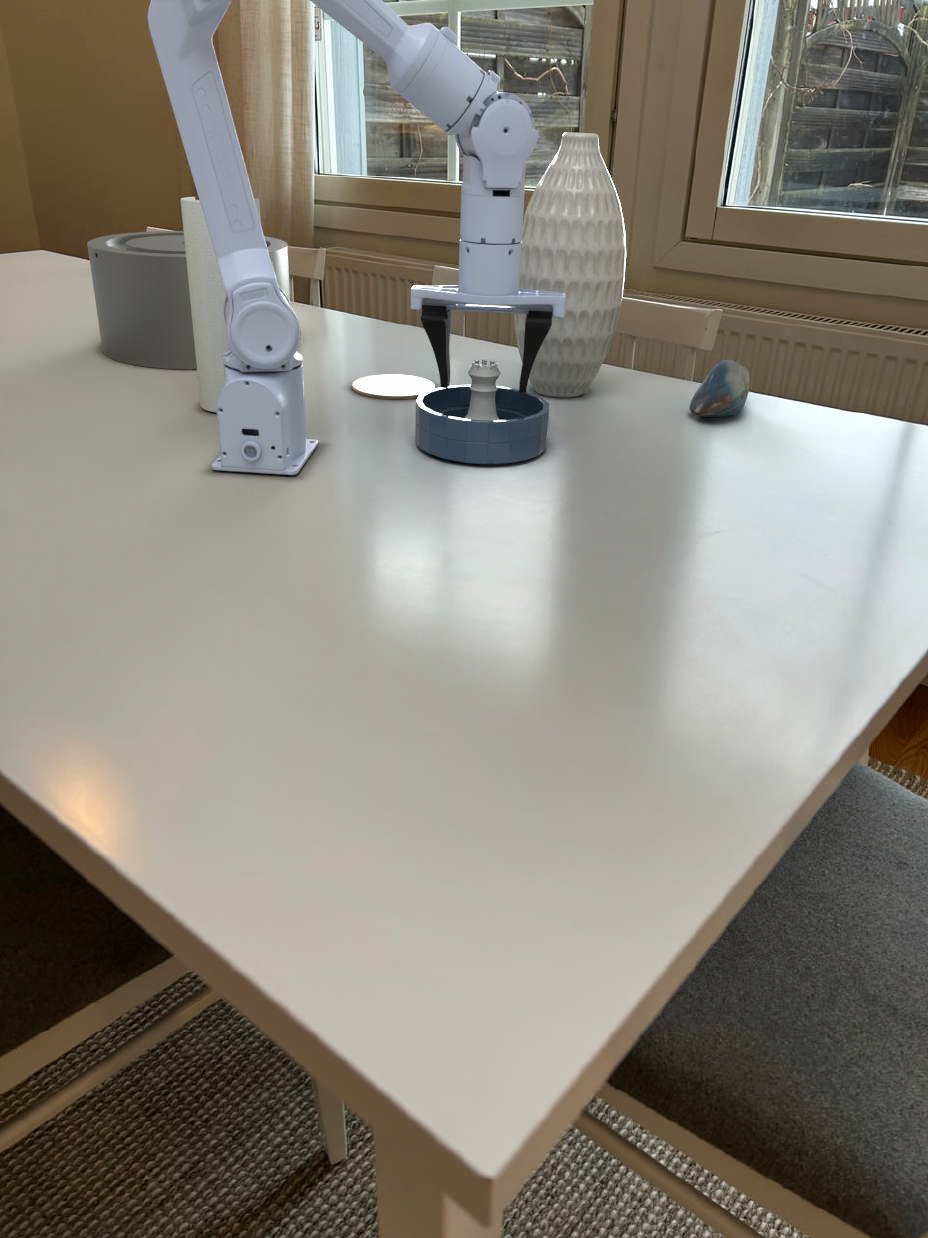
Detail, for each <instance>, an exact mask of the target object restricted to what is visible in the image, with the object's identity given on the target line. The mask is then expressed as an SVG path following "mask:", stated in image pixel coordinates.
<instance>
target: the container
mask: <svg viewBox="0 0 928 1238" xmlns="http://www.w3.org/2000/svg"><path fill="white" fill-rule="evenodd" d="M264 238H265V242H266V246H267V249H268V253H269V256H270V259H271V263H272V266H273V269H274V273H275V276H276V280H277V283H278V286H279V287H280V288H281V289H282V290H283V291H284V293H285V294H286V296H287V297H288V299H289V302H290V303H291V290H290V289H291V287H290V273H289V272H290V270H289V247H288V242H286V241H284V240H282V239H280V238H275V237H271V236H267V235H264ZM86 245H87V252H88V259H89V263H90V264H89V266H90V272H91V279H92V286H93V294H94V300H95V309H96V313H97V314H96V316H97V322H98V328H99V329H98V330H99V336H100V343H101V349H102V353H103V355H105V356H106V357H107V358H109V359H111V360H114V361H117V362H119V363H123V364H128V365H133V366H138V367H145V368H154V369H164V370H165V369H166V370H197V363H196V353H195V343H194V333H193V322H192V312H191V302H190V292H189V282H188V271H187V261H186V251H185V241H184V230H162V231H161V230H159V231H157V230H155V231H137V232H125V233H117V234H116V233H115V234H109V235H104V236H99V237H94V238H91V239H89V240H88V241H87V244H86Z"/></svg>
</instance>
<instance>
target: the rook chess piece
mask: <svg viewBox="0 0 928 1238" xmlns="http://www.w3.org/2000/svg"><path fill="white" fill-rule="evenodd" d="M467 374H468V375H469V377H470V379H471V384H470V385H471V386H470V390H471V401H470V406H469V411H468V414H467V416H465V419H472V420H488V421H490V420H499V418H498V417H497V413H496V404H495V392H496V391H497V389H498V388H497V386H498V385H496V383H497V380H498V379H499V377H500V376H501V374H502V373H501V371H500V369H499V368H498V362H496V360H490V361H489V364H488V359H481V363H480V360H479V359H474V360H473V361H471V367H470V368H469V369H468V370H467Z"/></svg>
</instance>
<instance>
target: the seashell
mask: <svg viewBox="0 0 928 1238" xmlns="http://www.w3.org/2000/svg"><path fill="white" fill-rule="evenodd" d="M750 386H751V377H750V372H749V370H748V369H747V368H746V367H745V366H743V365H741V364H740V363H738V362H737V361H734V360H731V359H723V360H721V361H719V362H718V363H717V364H716V365H715V366H714V367H712V369H711V370H710V371H709V373H708V374H707V375H706V377H705V378H704V380H703V381H702V382H701V384H700V385H699V387H698V388H697V390H696V391H695V392H694V394H693V396H692V398H691V400H690V403H689V406H688V409H689V411H690V412H691V413H692V414H694V415H695V416H699V417H702V418H714V417H716V418H717V417H718V418H719V417H728V416H733V415H737V414H739V413H741V412H742V410H743V409H744V406H745V404H746V402H747V400H748V396H749V392H750Z"/></svg>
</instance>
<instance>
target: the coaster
mask: <svg viewBox="0 0 928 1238" xmlns="http://www.w3.org/2000/svg"><path fill="white" fill-rule="evenodd" d="M351 389H352V390H353V392H355V393H357V394H359V395H361V396H365V397H368V398H369V397H370V398H374V399H382V400H409V399H410V400H411V399H417V398H418V396H419V395H421V394H423V393H425V392H426V391H429V390H433V389H436V385H435V383H434V382H432V381H431V380H429V379H427V378H423V377H420V376H415V375H409V374H396V373H395V374H392V373H386V374H385V373H384V374H373V375H366V376H363V377H362V376H361V377H359V378H357V379H355V380H353V381H352V383H351Z"/></svg>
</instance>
